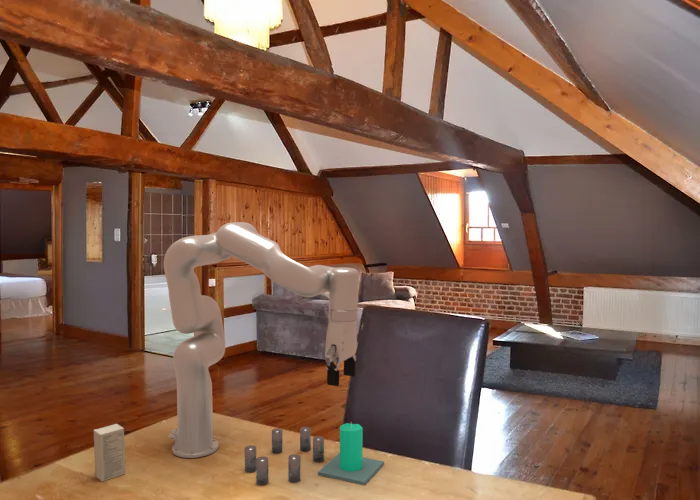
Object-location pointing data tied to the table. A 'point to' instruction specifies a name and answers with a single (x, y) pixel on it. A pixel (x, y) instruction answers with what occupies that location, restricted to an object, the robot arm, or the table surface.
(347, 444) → the candle
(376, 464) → the mat
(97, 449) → the skincare box
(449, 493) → the table surface
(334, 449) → the table surface
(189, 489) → the table surface
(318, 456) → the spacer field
